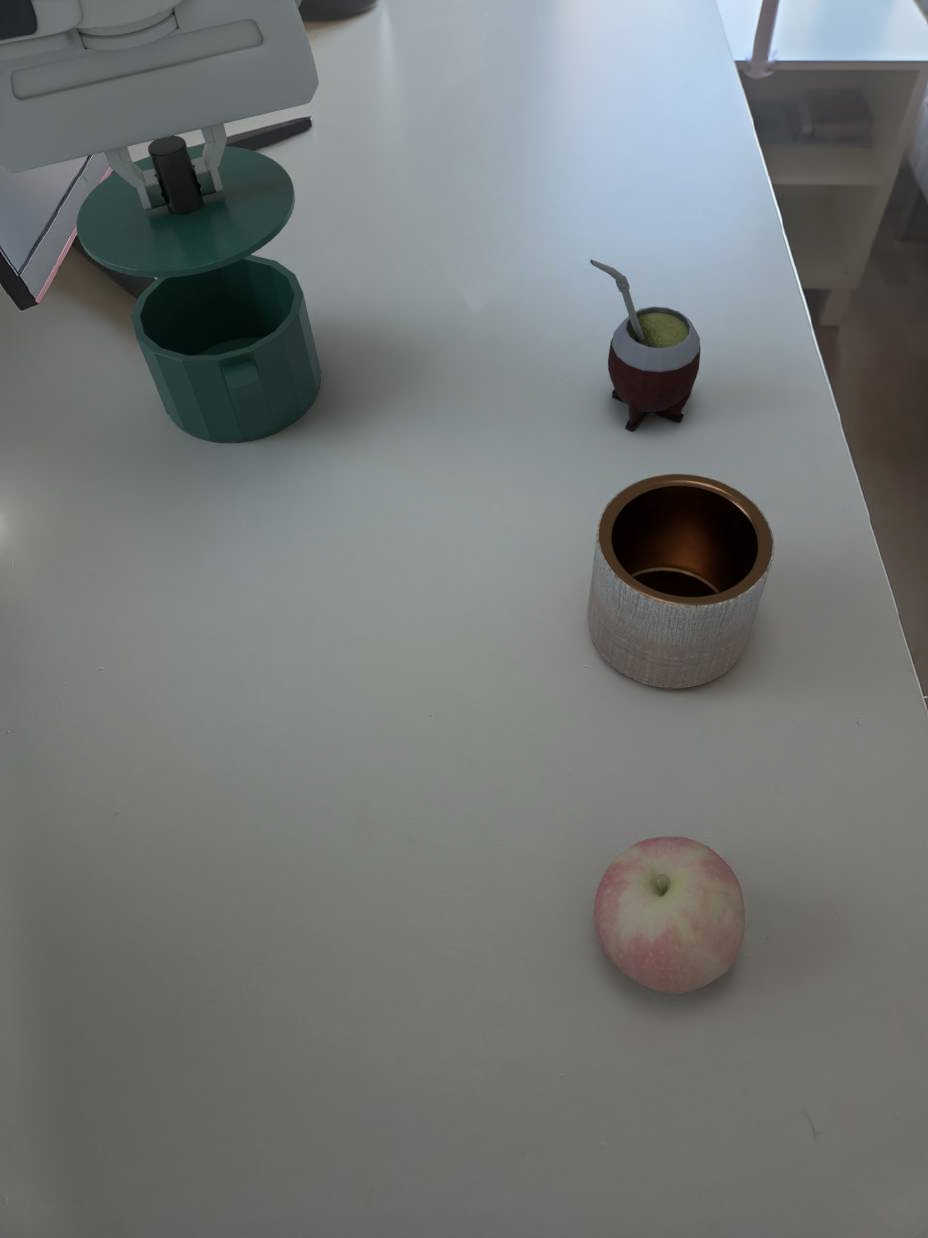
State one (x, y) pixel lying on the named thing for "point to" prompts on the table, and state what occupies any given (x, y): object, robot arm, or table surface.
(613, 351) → the mate gourd
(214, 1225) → the table surface
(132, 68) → the robot arm
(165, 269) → the lid
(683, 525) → the planter
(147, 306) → the pot
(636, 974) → the apple
